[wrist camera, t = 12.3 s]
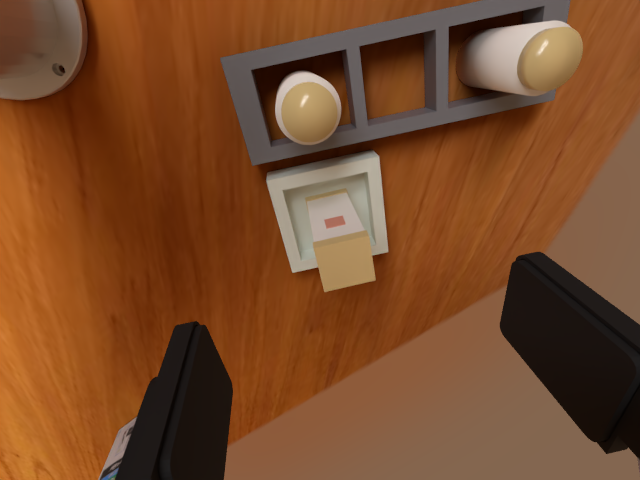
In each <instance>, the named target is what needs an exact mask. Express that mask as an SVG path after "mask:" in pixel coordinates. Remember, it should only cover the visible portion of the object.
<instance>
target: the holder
mask: <svg viewBox="0 0 640 480" xmlns="http://www.w3.org/2000/svg"><path fill="white" fill-rule="evenodd" d="M569 5H570V0H482V1H478V2H473V3H469V4H464V5H459V6H455V7H450V8H446V9H441V10H437V11H432V12H428V13H423V14H418V15H414V16H409V17H405V18H400V19H396V20H391V21H386V22H382V23H377V24H373V25H368V26H364V27H359V28H354V29H350V30H345V31H341V32H336V33H332V34H327V35H322V36H318V37H313V38H309V39H304V40H300V41H295V42H291V43H286V44H281V45H277V46H272V47H268V48H263V49H259V50H254V51H249V52H245V53H240V54H236V55H231V56H227V57H222V58H220V60H221V63H222V66H223V70H224V73H225V76H226V80H227V83H228V86H229V90H230V93H231V96H232V100H233V103H234V106H235V110H236V113H237V116H238V120H239V123H240V126H241V129H242V133H243V136H244V139H245V143H246V146H247V149H248V153H249V156H250V159H251V163H252V166H254V165H258V164H263V163H267V162H272V161H277V160H281V159H286V158H290V157H295V156H299V155H304V154H309V153H313V152H318V151H322V150H327V149H332V148H336V147H341V146H345V145H350V144H355V143H359V142H364V141H368V140H373V139H377V138H382V137H387V136H391V135H396V134H400V133H405V132H410V131H414V130H419V129H423V128H428V127H433V126H437V125H442V124H446V123H451V122H455V121H460V120H465V119H469V118H474V117H478V116H483V115H488V114H492V113H497V112H501V111H506V110H511V109H515V108H520V107H524V106H529V105H533V104H538V103H543V102H547V101H552V100H554V98H555V92H556V89H554V90H551V91H549V92H547V93H545V94H542V95H539V96H527V95H521V94H515V93H508V92H502V91H498V92H493V93H489V94H484V95H480V96H475V97H470V98H466V99H461V100H457V101H452V102H448V49H449V26H454V25H459V24H463V23H468V22H472V21H477V20H481V19H486V18H491V17H495V16H500V15H504V14H509V13H513V12H518V11H523V10H524V11H523V21H522V25H523V24H530V23H538V22H546V21H553V20H555V21H562V22H564V23H566V24H567V18H568V12H569ZM422 32H424V72H425V108H420V109H415V110H411V111H406V112H402V113H397V114H392V115H388V116H383V117H379V118H374V119H370V120H367V112H366V103H365V94H364V85H363V76H362V67H361V58H360V49H359V46H363V45H367V44H372V43H376V42H381V41H385V40H390V39H395V38H399V37H404V36H408V35H413V34H417V33H422ZM340 50H341V51H342V59H343V66H344V74H345V81H346V89H347V96H348V104H349V111H350V118H351V124H347V125H342V126H337V128H336V130H335V131H334V132H333V134H332V135H331V136H330V137H329V138H327V139H326V140H324V141H323V142H320V143H318V144H314V145H303V144H299V143H296V142H294V141H292V140H291V139H289V138H288V137H287V138H282V139H278V140H273V141H272V139H271V136H270V132H269V128H268V124H267V120H266V116H265V112H264V109H263V105H262V101H261V97H260V93H259V89H258V85H257V82H256V78H255V74H254V70H253V69H258V68H262V67H267V66H271V65H276V64H280V63H285V62H290V61H294V60H299V59H303V58H308V57H312V56H317V55H322V54H326V53H331V52H335V51H340Z"/></svg>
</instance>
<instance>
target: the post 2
mask: <svg viewBox="0 0 640 480" xmlns="http://www.w3.org/2000/svg"><path fill="white" fill-rule="evenodd" d="M582 52H583V43H582V39H581V37H580V35H579V33H578V32H577V31H576V30H574V29H573V28H571V27H570V26H569V25H568V24H566V23H564V22H562V21H555V20H553V21H546V22H538V23H530V24H523V25H515V26H508V27H500V28H493V29H485V30H480V31H477V32H475V33H473V34H472V35H470V36H469V37H468V38H467V39H466V40H465V41H464V43H463V44H462V45H461V47H460V49H459V51H458V54H457V57H456V72H457V75H458V78H459V79H460V80H461V82H462V83H464V84H465V85H467V86H471V87H477V88H483V89H490V90H496V91H502V92H508V93H515V94H521V95H527V96H539V95H542V94H545V93H547V92H549V91H551V90H554V89H556V88H558V87H560V86H561V85H563V84H564V83H565V82H567V81H568V80H569V79H570V77H571V76H572V75H573V74H574V72H575V71H576V69H577V67H578V65H579V63H580V60H581V57H582Z"/></svg>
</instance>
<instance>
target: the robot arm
mask: <svg viewBox="0 0 640 480" xmlns="http://www.w3.org/2000/svg"><path fill="white" fill-rule="evenodd" d="M87 42H88V32H87V19H86V15H85V11H84V7H83V3H82V0H0V98H2V99H11V100H29V99H37V98H42V97H46V96H50V95H52V94H54V93H56V92H58V91H60V90H63V89H64V88H65V87H66V86H67V85H68V84H70V83H71V82H72V81H73V80H74V78H75V77H76V75H77V74H78V72H79V71H80V69H81V67H82V64H83V61H84V59H85V56H86V50H87ZM62 67H64V69H65V72H64V71H63V69H62ZM500 329H501V332H502V334H503V335H504V337H505V338H506V339H507V341H508V342H509V343H510V344H511V345H512V347H514V349H515V350H516V351H517V353H518V354H519V355H520V356H521V358H522V359H523V360H524V361H525V362H526V364H527V365H528V366H529V367H530V369H531V370H532V371H533V372H534V373H535V375H536V376H537V377H538V378H539V379H540V381H541V382H542V383H543V384H544V386H545V387H546V388H547V389H548V390H549V392H550V393H551V394H552V395H553V397H554V398H555V399H556V400H557V401H558V403H559V404H560V405H561V406H562V407H563V409H564V410H565V411H566V412H567V414H568V415H569V416H570V417H571V418H572V420H573V421H574V422H575V423H576V424H577V426H578V427H579V428H580V429H581V431H582V432H583V433H584V434H585V435H586V436H587V437H588V438H589V439H590V440H591V441H593V442H597V443H598V444H599V446H600V447H601V448H602V449H603V450H604V452H605V453H606V454H608V453H613V452H616V451H621V450H625V449H627V448H628V447H629V448H630V450H631V451H632V452H633V453H634V454H635V455H636V456H637V458H638V465H639V472H640V325H639V324H638V323H636V322H635V321H634V320H632V319H631V318H630V317H628V316H627V315H625V314H624V313H623V312H621V311H620V310H619V309H618V308H616V307H615V306H614V305H612V304H611V303H609V302H608V301H607V300H605V299H604V298H603V297H601V296H600V295H599V294H597V293H596V292H595V291H593V290H592V289H591V288H589V287H588V286H586V285H585V284H584V283H583V282H581V281H580V280H578V279H577V278H576V277H574V276H573V275H572V274H570V273H569V272H568V271H566V270H565V269H564V268H562V267H561V266H559V265H558V264H557V263H556V262H554V261H552V259H550V258H549V257H547V256H546V255H545V254H543V253H541V252H535V253H530V254H525V255H520V256H518V257H517V258H516V261H515V262H513V263H512V265H511V270H510V275H509V280H508V285H507V291H506V296H505V301H504V306H503V311H502V316H501V321H500ZM232 395H233V388H232V382H231V380H230V378H229V375H228V373H227V371H226V369H225V367H224V364H223V362H222V360H221V358H220V356H219V353H218V351H217V349H216V347H215V345H214V342H213V340H212V338H211V336H210V334H209V331H208V329H207V327H206V326H205V325H200V324H199V323H198V322H197V321H195V322H190V323H185V324H180V325H176V326H175V328H174V330H173V333H172V336H171V339H170V342H169V345H168V348H167V351H166V354H165V357H164V360H163V363H162V366H161V368H160V371H159V374H158V377H155V378H153V379H152V380H151V381H150V383H149V385H148V388H147V390H146V393H145V396H144V399H143V402H142V404H141V407H140V410H139V413H138V416H137V418H136V421H135V424H134V427H133V430H132V432H131V435H130V438H129V441H128V444H127V446H126V449H125V452H124V455H123V457H122V460H121V463H120V466H119V469H118V471H117V474H116V477H115V480H224V472H225V462H226V452H227V443H228V434H229V424H230V415H231V405H232Z"/></svg>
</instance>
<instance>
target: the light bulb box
mask: <svg viewBox="0 0 640 480" xmlns="http://www.w3.org/2000/svg"><path fill="white" fill-rule="evenodd" d="M136 418H137V417H136ZM136 418H134V419H133V420H132V421H130V422H129V423H128V424H126V425H125V426H124V427H122V428H121V429H120V430H119V432H118V434H117V436H116V439H115V441H114V444H113V446H112V448H111V451H110V453H109V455H108V458H107V460H106V463H105V465H104V467H103V470H102V472H101V474H100V477H99V479H98V480H115V477H116V474H117V471H118V469H119V466H120V463H121V460H122V457H123V455H124V452H125V449H126V446H127V444H128V441H129V438H130V435H131V432H132V430H133V427H134V424H135V421H136Z"/></svg>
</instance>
